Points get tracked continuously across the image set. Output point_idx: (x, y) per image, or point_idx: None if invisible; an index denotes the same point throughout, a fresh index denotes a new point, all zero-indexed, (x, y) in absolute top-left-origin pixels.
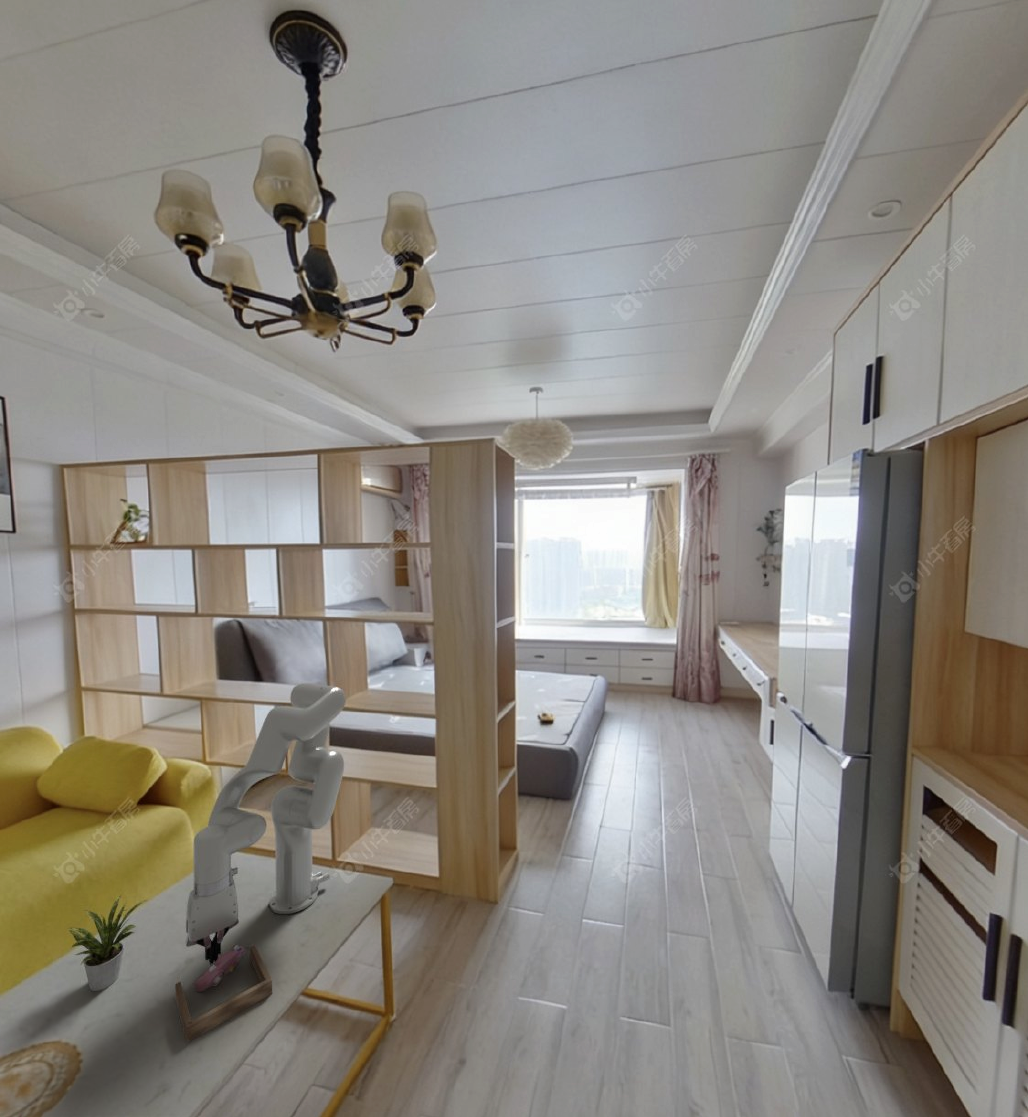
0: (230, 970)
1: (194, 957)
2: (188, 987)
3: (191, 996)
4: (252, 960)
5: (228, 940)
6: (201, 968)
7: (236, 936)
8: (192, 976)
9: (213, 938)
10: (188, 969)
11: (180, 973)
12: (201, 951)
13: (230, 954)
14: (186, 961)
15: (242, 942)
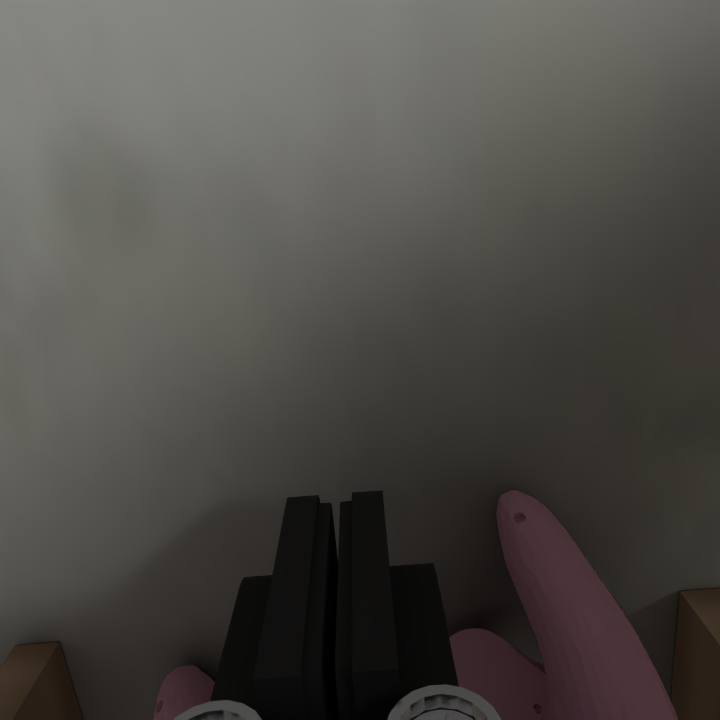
0: None
1: (161, 175)
2: (120, 594)
3: (151, 702)
4: (693, 694)
5: (578, 120)
6: (236, 422)
7: (685, 106)
8: (150, 479)
9: (361, 693)
10: (103, 348)
11: (23, 357)
12: (244, 110)
13: None
14: (70, 187)
15: (705, 285)
